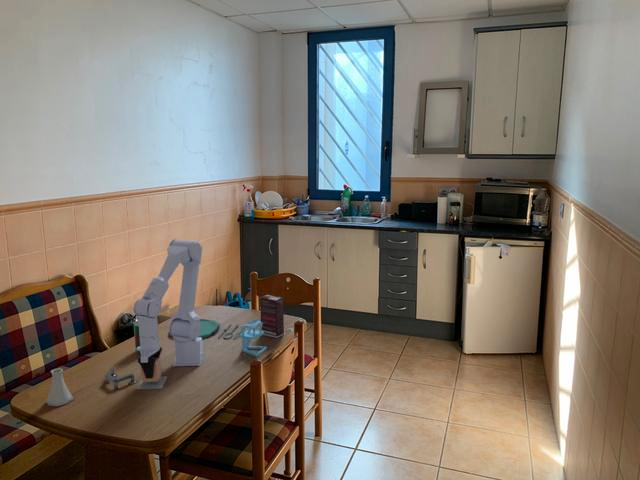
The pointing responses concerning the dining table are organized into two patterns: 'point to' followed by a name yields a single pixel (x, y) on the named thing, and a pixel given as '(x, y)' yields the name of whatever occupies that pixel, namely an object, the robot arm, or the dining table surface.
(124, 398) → the dining table surface
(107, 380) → the bent jointed bar linkage
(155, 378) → the pink block with hole
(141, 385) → the mat
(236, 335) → the cutlery set
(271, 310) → the supplement box
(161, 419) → the dining table surface
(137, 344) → the soda can
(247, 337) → the chair
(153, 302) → the robot arm
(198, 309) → the dining table surface
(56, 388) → the flask
